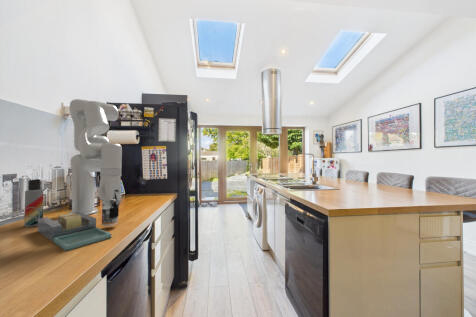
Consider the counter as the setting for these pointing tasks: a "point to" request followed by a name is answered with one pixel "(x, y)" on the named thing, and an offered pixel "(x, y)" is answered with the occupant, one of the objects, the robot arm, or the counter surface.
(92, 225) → the slot block
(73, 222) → the chip
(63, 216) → the chip
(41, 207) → the lotion bottle
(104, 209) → the pill bottle
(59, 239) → the tray
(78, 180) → the robot arm
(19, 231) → the counter surface
